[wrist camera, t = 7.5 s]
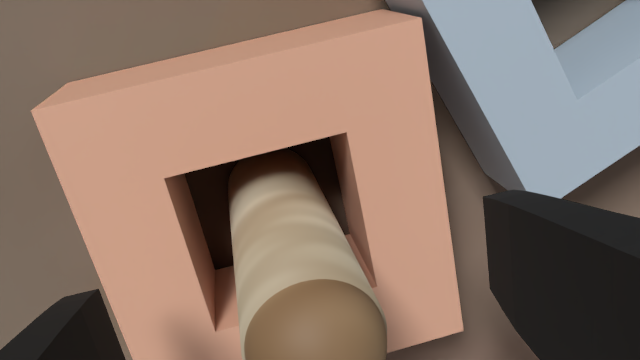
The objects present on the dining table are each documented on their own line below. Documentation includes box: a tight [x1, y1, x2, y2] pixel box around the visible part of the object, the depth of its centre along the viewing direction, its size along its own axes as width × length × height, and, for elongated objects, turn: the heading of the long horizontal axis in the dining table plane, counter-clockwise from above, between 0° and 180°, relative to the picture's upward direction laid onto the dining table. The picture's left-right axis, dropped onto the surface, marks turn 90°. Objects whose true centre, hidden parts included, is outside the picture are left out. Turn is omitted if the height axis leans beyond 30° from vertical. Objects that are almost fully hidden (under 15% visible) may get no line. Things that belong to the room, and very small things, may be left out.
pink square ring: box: [31, 9, 464, 360], centre depth 14 cm, size 8×8×3 cm
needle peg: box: [227, 148, 387, 360], centre depth 12 cm, size 2×2×8 cm
